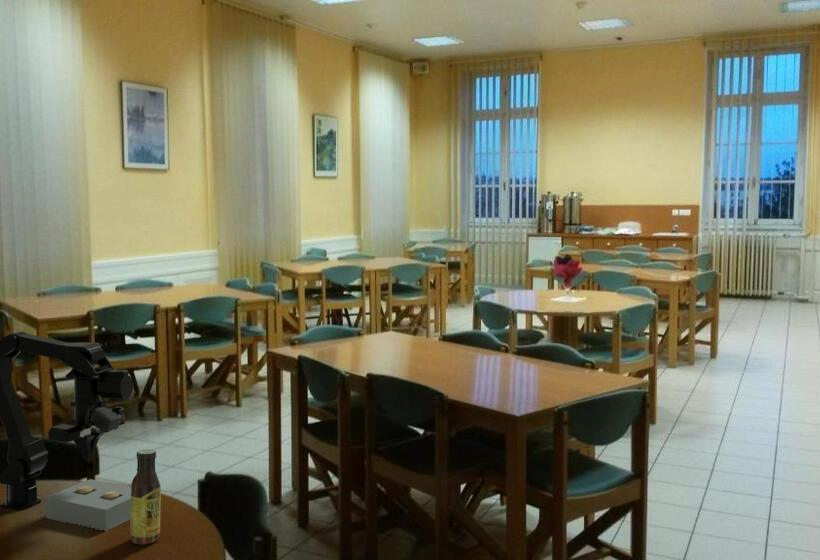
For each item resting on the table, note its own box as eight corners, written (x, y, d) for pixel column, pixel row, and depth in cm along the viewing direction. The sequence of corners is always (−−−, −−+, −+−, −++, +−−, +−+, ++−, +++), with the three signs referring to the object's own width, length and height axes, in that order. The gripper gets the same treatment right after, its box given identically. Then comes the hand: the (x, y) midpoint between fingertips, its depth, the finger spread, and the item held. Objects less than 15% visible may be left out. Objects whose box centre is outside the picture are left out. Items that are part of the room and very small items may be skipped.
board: (45, 517, 183) (45, 497, 182) (90, 498, 196) (90, 479, 195) (106, 531, 176) (106, 509, 176) (148, 510, 189) (148, 490, 189)
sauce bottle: (150, 547, 168) (150, 457, 167) (124, 544, 170) (124, 454, 168) (166, 535, 175) (166, 448, 173) (140, 532, 176) (140, 446, 174)
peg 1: (73, 512, 187) (73, 490, 186) (84, 507, 190) (84, 485, 189) (85, 515, 185) (84, 492, 185) (96, 510, 189) (96, 487, 188)
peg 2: (99, 518, 184) (99, 495, 183) (110, 513, 187) (110, 490, 186) (111, 520, 182) (111, 497, 182) (122, 515, 186) (122, 493, 185)
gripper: (83, 409, 174) (84, 477, 175) (141, 392, 191) (142, 455, 193) (46, 403, 178) (47, 470, 180) (106, 387, 196) (106, 449, 197)
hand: (88, 461), depth 187 cm, fingers closed
